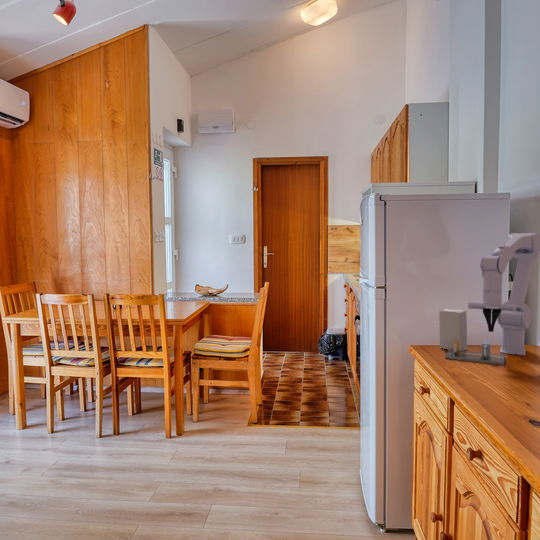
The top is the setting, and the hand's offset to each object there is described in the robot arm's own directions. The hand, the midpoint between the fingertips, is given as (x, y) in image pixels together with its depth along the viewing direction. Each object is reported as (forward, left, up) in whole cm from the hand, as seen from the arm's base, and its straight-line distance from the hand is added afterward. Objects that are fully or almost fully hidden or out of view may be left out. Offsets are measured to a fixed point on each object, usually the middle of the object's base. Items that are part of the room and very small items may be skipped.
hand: (491, 331), depth 155 cm
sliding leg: (0, -1, -9) cm, 9 cm away
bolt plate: (-1, -5, -10) cm, 11 cm away
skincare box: (-11, -13, -10) cm, 20 cm away
